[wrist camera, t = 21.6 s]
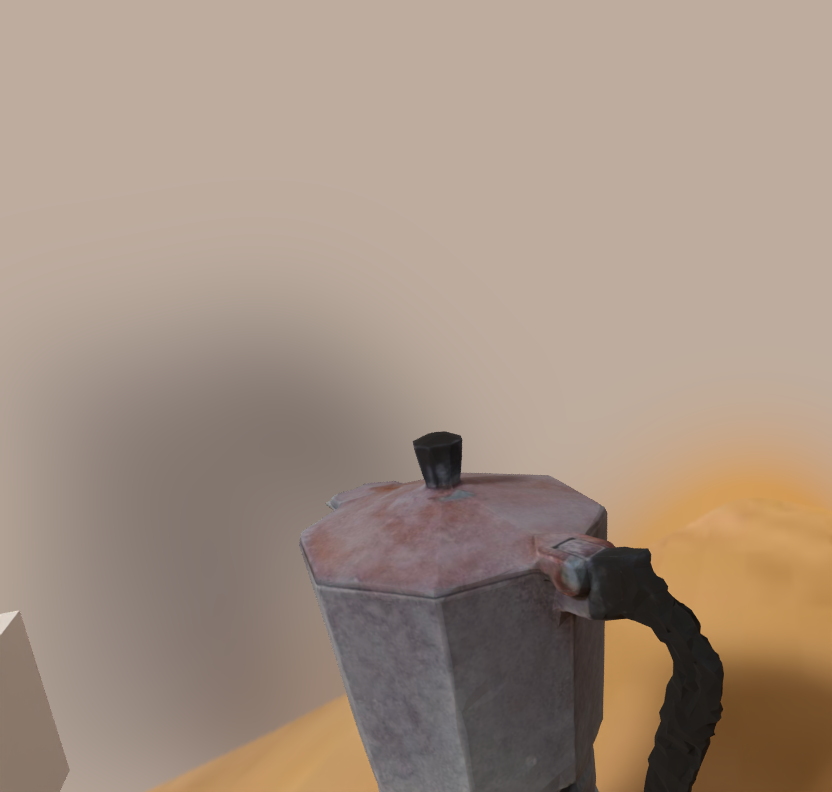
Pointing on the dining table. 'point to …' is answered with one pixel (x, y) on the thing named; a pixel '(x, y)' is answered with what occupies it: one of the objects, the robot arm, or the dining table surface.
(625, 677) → the dining table surface
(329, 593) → the moka pot
